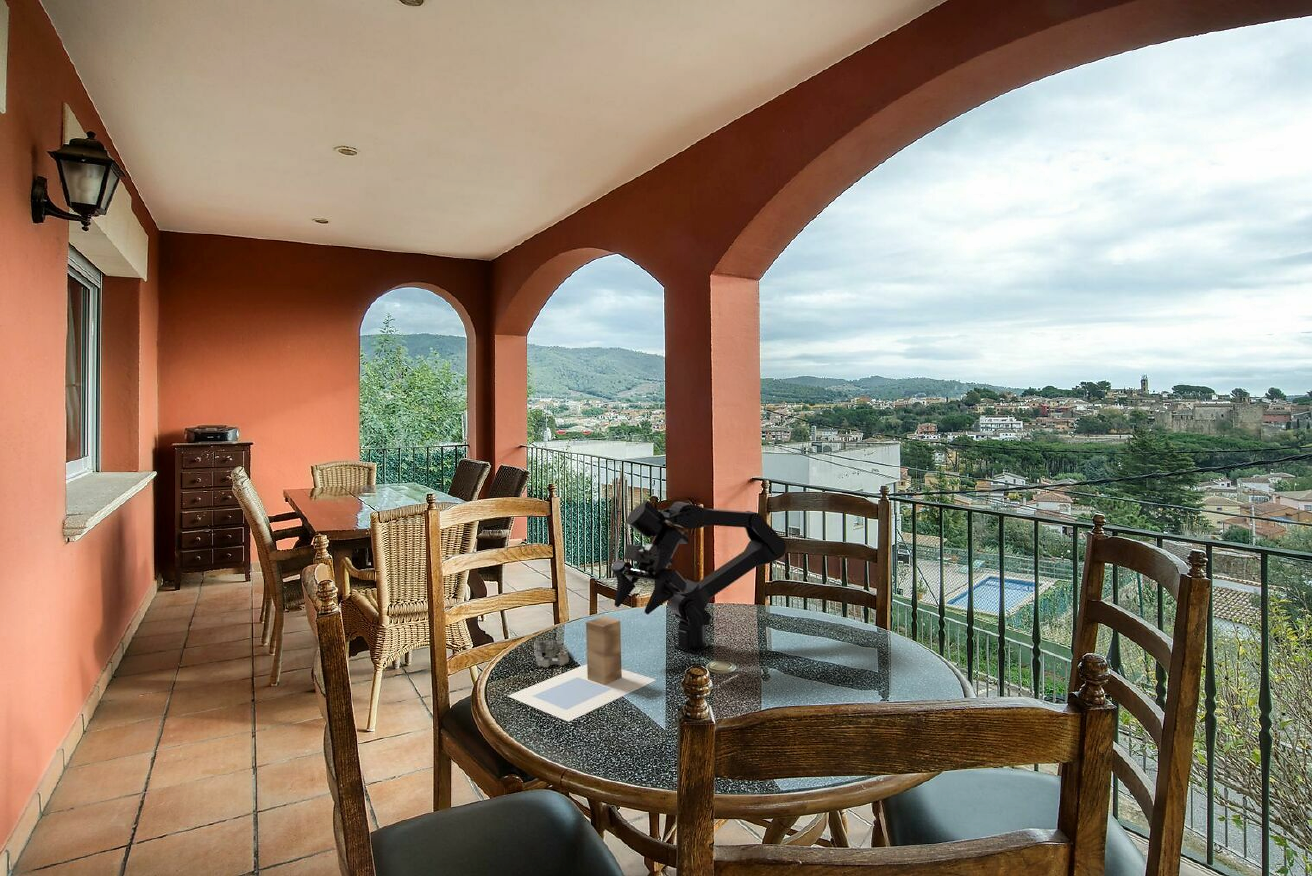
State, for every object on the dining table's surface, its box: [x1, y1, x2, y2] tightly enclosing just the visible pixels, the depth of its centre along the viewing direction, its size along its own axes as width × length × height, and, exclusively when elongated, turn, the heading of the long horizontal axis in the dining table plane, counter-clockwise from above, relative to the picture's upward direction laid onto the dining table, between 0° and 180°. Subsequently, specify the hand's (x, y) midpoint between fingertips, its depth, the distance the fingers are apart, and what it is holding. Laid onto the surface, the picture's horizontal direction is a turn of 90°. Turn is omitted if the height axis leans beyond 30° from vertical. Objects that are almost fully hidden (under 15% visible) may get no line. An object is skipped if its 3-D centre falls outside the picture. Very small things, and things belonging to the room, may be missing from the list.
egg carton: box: [533, 639, 570, 668], centre depth 155 cm, size 11×8×4 cm
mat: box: [507, 663, 657, 723], centre depth 138 cm, size 24×18×1 cm
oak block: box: [585, 615, 623, 685], centre depth 142 cm, size 5×5×12 cm
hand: (630, 609), depth 149 cm, fingers open, 9 cm apart
